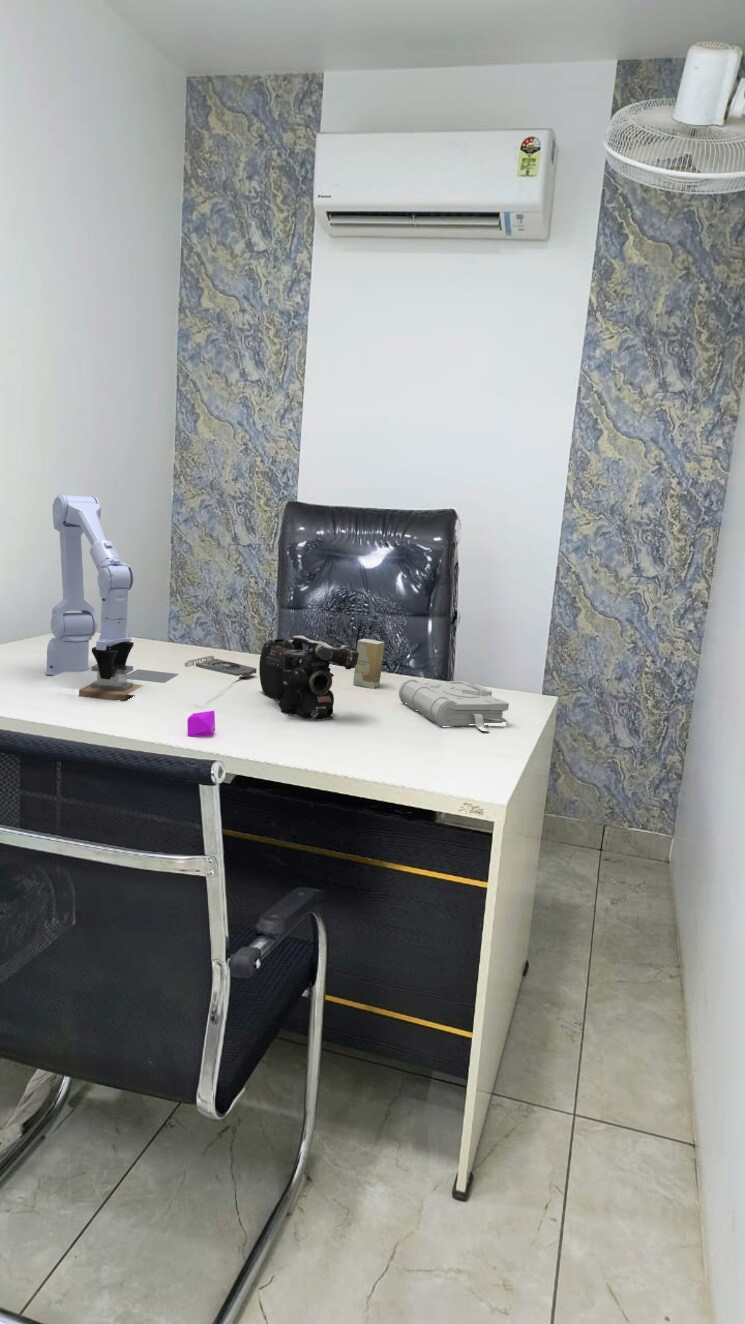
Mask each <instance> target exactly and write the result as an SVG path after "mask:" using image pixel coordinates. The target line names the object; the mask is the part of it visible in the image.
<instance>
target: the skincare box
mask: <svg viewBox="0 0 745 1324" xmlns="http://www.w3.org/2000/svg"><path fill="white" fill-rule="evenodd" d="M356 647H357V648H356V651H357V652H359V656H358V661H357V665H356V666H354V672H353V683H352V685H353V686H358V687H363V688H364V687H365V688H368V687H369V689H373V688H374V689H376V688H378V687H380V683H381V676H382V668H383V658H384V650H385V642H384V641H380V640H376V639H368V638H361V639H358V640H357V646H356ZM375 687H376V688H375Z"/></svg>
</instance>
